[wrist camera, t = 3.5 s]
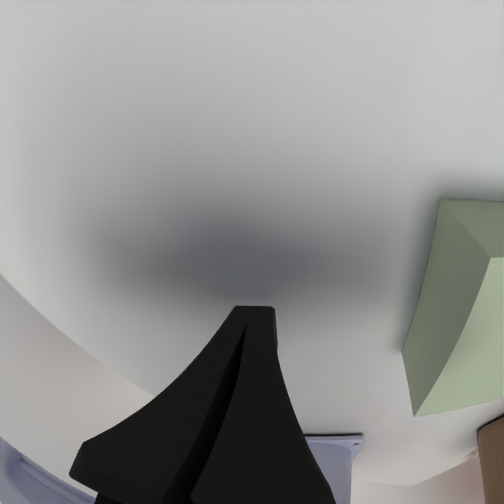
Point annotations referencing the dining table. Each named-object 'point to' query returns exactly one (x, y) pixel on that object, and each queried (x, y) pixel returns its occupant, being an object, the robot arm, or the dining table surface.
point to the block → (492, 460)
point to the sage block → (459, 312)
